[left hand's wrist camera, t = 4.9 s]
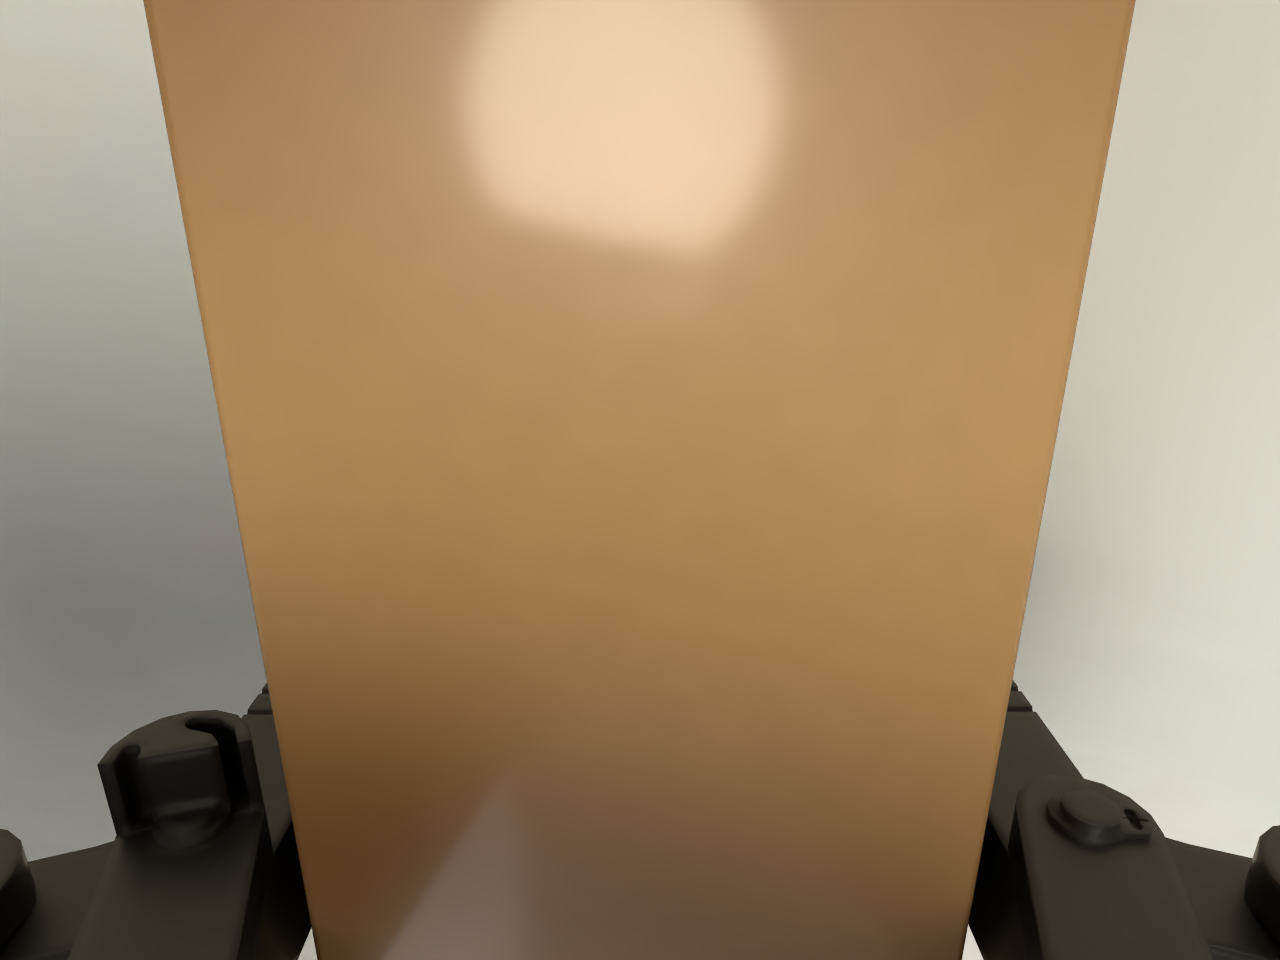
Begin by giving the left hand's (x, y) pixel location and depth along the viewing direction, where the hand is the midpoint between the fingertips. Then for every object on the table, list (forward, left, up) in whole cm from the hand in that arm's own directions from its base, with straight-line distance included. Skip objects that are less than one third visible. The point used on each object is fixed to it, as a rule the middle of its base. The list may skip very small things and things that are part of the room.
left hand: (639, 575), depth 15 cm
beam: (+8, +25, -1) cm, 26 cm away
